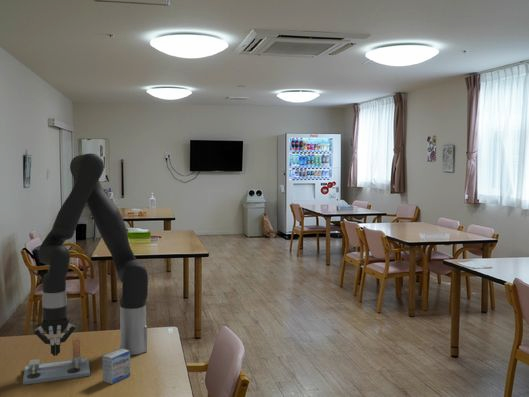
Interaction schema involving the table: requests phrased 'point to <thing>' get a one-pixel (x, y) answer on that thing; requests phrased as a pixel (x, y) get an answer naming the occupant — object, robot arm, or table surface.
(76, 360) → the sliding leg
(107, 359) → the medicine box
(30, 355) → the table surface
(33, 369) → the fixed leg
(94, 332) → the table surface
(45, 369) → the bolt plate
